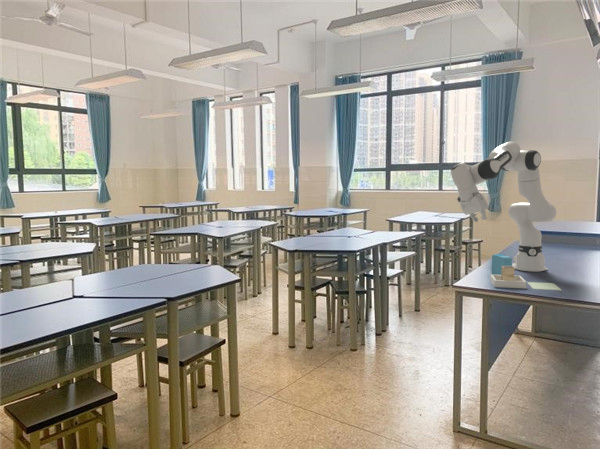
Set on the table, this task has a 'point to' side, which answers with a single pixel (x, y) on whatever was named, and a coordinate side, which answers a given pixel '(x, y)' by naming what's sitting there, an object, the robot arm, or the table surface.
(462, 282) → the table surface
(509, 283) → the bin
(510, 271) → the part box
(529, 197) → the robot arm
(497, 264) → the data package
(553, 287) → the pad
